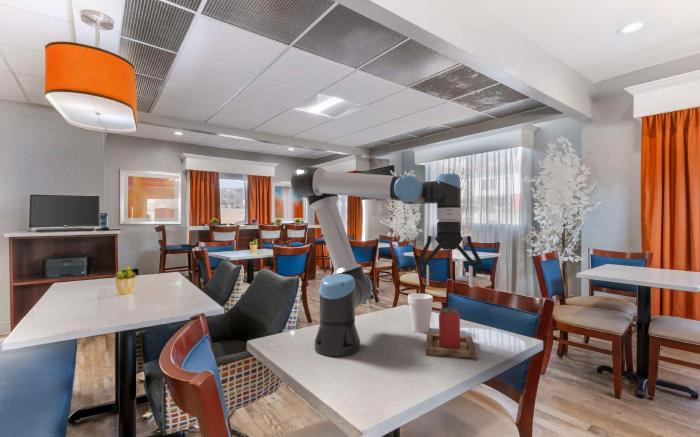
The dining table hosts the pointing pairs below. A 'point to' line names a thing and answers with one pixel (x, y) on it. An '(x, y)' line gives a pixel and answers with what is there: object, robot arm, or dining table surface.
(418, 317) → the foam cup
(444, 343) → the beer can
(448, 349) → the wooden tray
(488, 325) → the dining table surface
